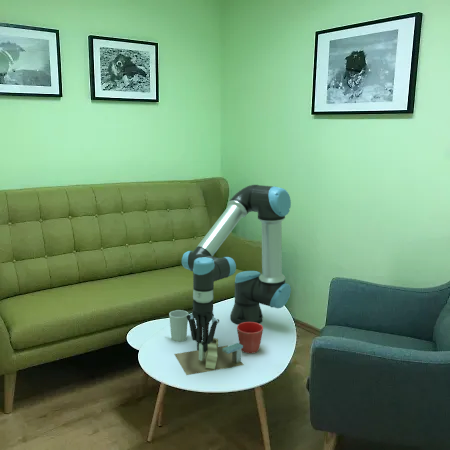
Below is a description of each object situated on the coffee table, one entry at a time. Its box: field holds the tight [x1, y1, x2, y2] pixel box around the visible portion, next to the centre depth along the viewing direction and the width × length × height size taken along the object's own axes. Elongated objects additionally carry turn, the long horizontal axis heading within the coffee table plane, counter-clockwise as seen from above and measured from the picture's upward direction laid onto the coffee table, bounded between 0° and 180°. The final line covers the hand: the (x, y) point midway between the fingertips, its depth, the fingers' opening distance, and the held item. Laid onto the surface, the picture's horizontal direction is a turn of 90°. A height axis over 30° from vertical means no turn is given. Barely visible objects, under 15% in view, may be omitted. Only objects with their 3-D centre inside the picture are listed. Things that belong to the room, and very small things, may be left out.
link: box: [205, 337, 219, 369], centre depth 179 cm, size 15×5×5 cm, turn 3°
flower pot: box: [236, 322, 264, 354], centre depth 190 cm, size 11×11×10 cm
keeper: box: [222, 342, 243, 364], centre depth 176 cm, size 3×8×7 cm, turn 131°
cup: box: [168, 309, 189, 343], centre depth 196 cm, size 8×8×12 cm
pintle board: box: [174, 345, 245, 376], centre depth 180 cm, size 22×17×1 cm
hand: (202, 358), depth 177 cm, fingers closed
